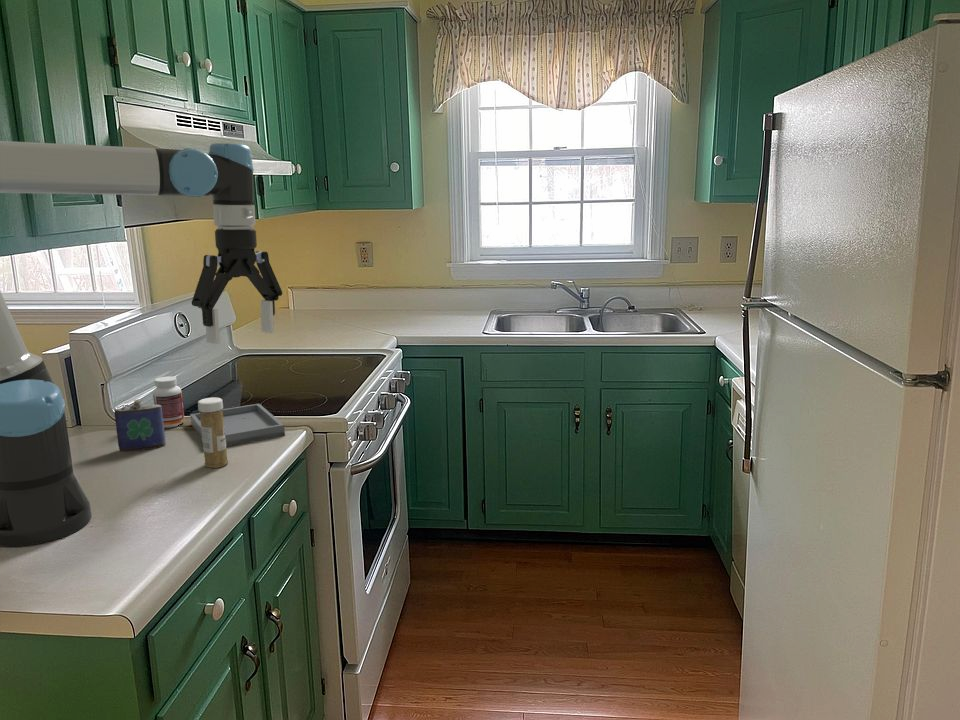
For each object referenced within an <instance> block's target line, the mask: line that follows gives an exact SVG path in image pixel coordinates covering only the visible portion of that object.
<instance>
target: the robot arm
mask: <svg viewBox="0 0 960 720" xmlns="http://www.w3.org/2000/svg"><path fill="white" fill-rule="evenodd" d="M253 165H254V164H253V158H252V150H251V148H250V147H249V146H248V145H246V144H243V143H230V142H229V143H228V142H226V143H225V142H224V143H223V142H222V143H220V142H219V143H218V142H217V143H216V142H215V143H212V144H210V145H209V150H208V153H206V152H204V151H202V150H200V149H197V148H188V147H187V148H183V149H176V148H174V149H173V148H154V147H136V146H133V147H132V146H117V145H116V146H115V145H114V146H111V145H95V144H92V145H91V144H73V143H72V144H70V143H54V142H53V143H52V142H51V143H50V142H29V141H10V140H9V141H7V140H6V141H5V140H0V194H42V195H43V194H48V195H49V194H53V195H61V194H63V195H111V196H114V195H115V196H116V195H117V196H119V195H125V196H126V195H127V196H128V195H130V196H160V197H166V196H167V197H175V196H176V197H190V198H195V197H196V198H200V197H202V196H205V197H206V196H208V197H209V196H212V204H213V206H212V207H213V209H212V210H213V225H214V226H215V227H217V228H216V229H215V230H214V239H215V240H214V241H215V247H216V249H217V251H218V253H217V255H213V254H212V255H211V254H205V255H204V256H203V261H202V262H203V265H202V266H203V267H202V270H201V274H200V275H199V279H198V282H197V285H196V288H195V291H194V294H193V297H192V300H191V305H192V306H193V307H197V308H198V309H201V316H202V325H203V327H205V333H206V335H205V336H206V343H210V344H214V345H215V344H216V345H217V344H220V343H221V341H220V327H219V324H220V323H219V312H218V311H219V309H218V308H215V306H216V304H217V302H218V300H219V299H220V297H221V295H222V294H223V292H224V290H225V288H226V287H227V285H228V283H229V282H230V281H231V280H233V278H235V279H236V278H241V277H246V278H247V279H248V280H249V281H250V282H251V284H252V285H253V286H254V288H255V289H256V290H257V292H258V293H259V294H260V296H262V298H263V299H260V300H259V302H260V303H259V304H260V306H259V307H260V320H261V321H260V322H261V333H267V334H274V333H275V329H274V328H275V327H274V316H275V314H276V308H275V307H276V306H275V301H279V298H280V297H282V295H283V291H282V288H281V286H280V283H279V281H278V279H277V277H276V274H275V272H274V269H273V268H272V266H271V263H270V258H269V257H270V256H269V253H268V251H263V250H262V251H261V250H256V251H255V249H256V248H257V243H258V242H257V230H256V229H255V228H253V227H254V226H256V208H255V206H256V205H255V191H254V166H253ZM255 264H256V265H255ZM256 266H257V267H256ZM218 267H219V268H218ZM14 320H15V319H14V318H13V316H12V314H11V312H10V309H9V307H8V305H7V303H6V301H5V299H4V296H3V295H2V291H0V547H25V546H26V547H27V546H33V545H38V544H44V543H47V542H51V541H55V540H57V539H61V538H64V537H66V536H69V535H70V534H71V535H72V534H73V533H75V532H77V531H79V530H80V529H82V528H84V527H85V526H86V525H87V524H89V522H91V520H92V509H91V503H90V501H89V499H88V497H87V496H86V493H85V492H84V490H83V488H82V487H81V484H80V483H79V481H78V480H77V478H76V476H75V473H74V468H73V460H72V459H73V458H72V454H71V446H70V439H69V432H68V431H69V430H68V425H67V418H66V412H65V410H66V402H65V399H64V397H63V394H62V391H61V389H60V387H59V386H58V385H57V384H55V383H54V381H53V379H52V377H51V375H50V372H49V369H48V368H47V366H46V363H45V362H44V360H43V358H42V357H41V356H39V355H36V354H35V353H31V352H30V351H29V350H28V348H27V346H26V343H25V342H24V339H23V338H22V336H21V333H20V331H19V328H18V327H17V324H16V322H15V321H14Z"/></svg>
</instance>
